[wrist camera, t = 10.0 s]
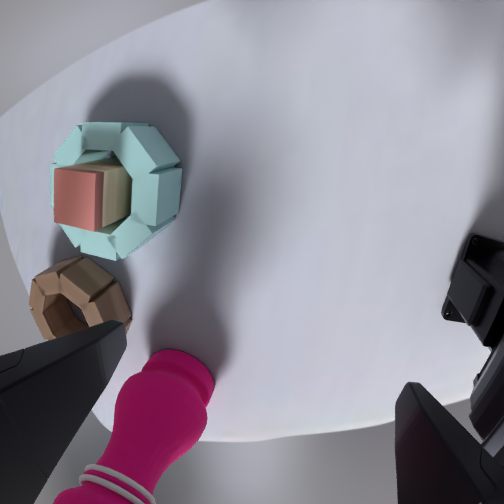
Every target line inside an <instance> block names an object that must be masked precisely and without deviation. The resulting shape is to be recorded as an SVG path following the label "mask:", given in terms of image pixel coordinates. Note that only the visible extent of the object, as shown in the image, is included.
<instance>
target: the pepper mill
mask: <svg viewBox="0 0 504 504" xmlns="http://www.w3.org/2000/svg"><path fill="white" fill-rule="evenodd" d="M213 391H214V381H213V378H212V375H211V373H210V371H209V370H208V369H207V368H206V367H205V366H204V364H203V363H202V362H200V361H199V360H198V359H196V358H195V357H193V356H191V355H189V354H187V353H185V352H181V351H178V350H168V349H167V350H161V351H158V352H156V353H154V354H153V355H152V356H151V357H150V359H149V360H148V361H147V363H146V364H145V366H144V367H143V369H142V371H141V372H139V373H137V374H134V375H133V376H131V377H129V378H128V380H127V381H126V382H125V383H124V385H123V386H122V388H121V390H120V392H119V394H118V397H117V400H116V404H115V412H114V425H113V431H112V435H111V439H110V442H109V444H108V446H107V448H106V450H105V452H104V454H103V455H102V457H101V458H100V460H99V461H98V462H97V463H96V464H92V465H88V466H86V468H85V472H84V474H83V475H81V476H80V477H79V482H80V485H81V486H79V487H76V488H70V489H67V490H64V491H62V492H61V493H60V494H59V495H58V496H57V497H56V499H55V500H54V503H53V504H155V499H154V498H153V496H152V494H153V491H154V488H155V486H156V484H157V482H158V480H159V479H160V477H161V475H162V473H163V472H164V471H165V470H166V469H167V468H168V467H169V465H171V464H172V463H173V462H174V461H176V460H177V459H178V458H179V457H180V456H182V455H183V454H184V453H186V452H187V451H188V450H189V449H190V448H192V446H193V445H194V444H195V443H196V442H197V441H198V440H199V438H200V437H201V435H202V433H203V431H204V429H205V427H206V424H207V412H206V407H207V405H208V403H209V401H210V398H211V396H212V394H213Z"/></svg>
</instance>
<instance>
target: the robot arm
mask: <svg viewBox="0 0 504 504" xmlns="http://www.w3.org/2000/svg"><path fill="white" fill-rule="evenodd" d="M475 238H476V241H475V243H472V241H473V239H475ZM447 295H448V296H447V299H446V302H445V304H444V307H443V309H442V312H441V313H442V316H443V318H444V319H445V320H449V321H456V322H462V323H467V325H468V326H471V328H472V329H473V331H474V332H475V334H476V335H477V337H478V338H479V340H480V341H481V343H482V344H483V346H486V347H488V348H489V350H490V351H491V354H490V355H489V357H488V359H487V361H486V363H485V365H484V366H483V368H482V370H481V371H480V373H478V374H477V376H476V377H475V379H474V381H473V383H474V388H473V391H472V394H471V397H470V400H471V410H472V411H471V413H470V415H469V418H470V420H471V423H472V425H473V427H474V429H475V431H476V432H477V433H478V435H479V436H480V438H481V439H482V440H483V442H482V443H481V444H480V443H479V442H478V441H477V440H476V439H475V438H473V436H472V435H471V434H470V433H469V432H468V431H467V430H466V429H465V428H464V427H463V426H462V425H461V424H460V423H459V422H458V421H457V420H456V419H455V418H454V417H453V416H452V415H451V414H450V413H449V412H448V411H447V410H446V409H445V408H444V407H443V406H442V405H441V404H440V403H439V402H438V401H437V400H436V399H435V398H434V397H433V396H432V395H431V394H430V393H429V392H428V391H427V390H426V389H425V388H424V387H423V386H422V385H421V384H420V383H417V382H408V383H406V385H405V386H404V388H403V390H402V392H401V393H400V395H399V397H398V399H397V401H396V405H395V458H396V473H397V494H398V504H504V242H503V241H500V240H497V239H494V238H490V237H487V236H483V235H480V234H477V233H472V234H470V235H469V236H468V238H467V242H466V245H465V248H464V251H463V254H462V257H461V260H460V261H459V262H458V265H457V268H456V271H455V274H454V277H453V279H452V282H451V285H450V287H449V290H448V293H447ZM448 311H450V313H449V314H446V313H447V312H448ZM126 346H127V339H126V327H125V324H124V323H123V322H121V321H118V320H115V319H112V320H109V321H106V322H103V323H100V324H97V325H94V326H91V327H88V328H85V329H82V330H79V331H76V332H73V333H70V334H67V335H64V336H61V337H58V338H55V339H52V340H49V341H46V342H43V343H40V344H37V345H33V346H30V347H28V348H25V349H21V350H18V351H15V352H12V353H8V354H5V355H1V356H0V504H34V502H35V500H36V499H37V497H38V495H39V494H40V492H41V490H42V489H43V487H44V485H45V483H46V482H47V480H48V479H47V478H49V476H50V475H51V473H52V471H53V470H54V468H55V466H56V465H57V463H58V461H59V460H60V458H61V457H62V455H63V453H64V452H65V450H66V449H67V447H68V445H69V444H70V442H71V441H72V439H73V437H74V436H75V434H76V433H77V431H78V429H79V428H80V426H81V425H82V423H83V422H84V420H85V418H86V417H87V415H88V414H89V412H90V411H91V409H92V408H93V406H94V405H95V403H96V402H97V400H98V398H99V397H100V395H101V394H102V392H103V391H104V389H105V388H106V386H107V384H108V383H109V381H110V379H111V377H112V375H113V373H114V371H115V369H116V367H117V365H118V363H119V361H120V359H121V357H122V355H123V353H124V351H125V349H126Z"/></svg>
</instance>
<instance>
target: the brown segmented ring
mask: <svg viewBox="0 0 504 504" xmlns="http://www.w3.org/2000/svg"><path fill="white" fill-rule="evenodd" d="M113 280H114V276H112V275H111V274H110V273H108V272H107V271H106V270H104V269H103V268H101V267H100V266H99V265H97V264H96V263H95V262H93V261H92V260H91V259H89V258H88V257H86V258H84V259H83V256H79V257H75V258H71V259H67V260H63V261H60V262H58V263H56V264H55V265H53V266H51V267H50V268H48V269H46V270H45V271H43V272H41V273H40V274H38V275H36V276H35V278H34V279H33V280H32V285H31V292H30V300H29V305H30V306H31V307H32V309H31V310H30V311H31V313H32V315H33V317H34V320H35V322H36V324H37V326H38V328H39V330H40V332H41V334H42V336H43V338H44V339H48V341H49V340H52V339H55V338H58V337H61V336H64V335H67V334H70V333H73V332H76V331H79V330H82V329H85V328H88V326H87V325H85V324H84V323H83V322H82V321H80V320H79V319H78V318H76V317H75V315H74V313H73V311H72V309H71V307H70V304H69V302H68V300H67V298H68V299H69V300H70V301H72V302H73V303H74V304H75V305H77V306H78V307H79V308H80V309H81V310H82V312H83V314H84V316H85V319H86V321H87V323H88V325H89V327H91V326H94V325H97V324H100V323H103V322H106V321H109V320H112V319H115V320H118V321H121V322H123V323H124V324H125V327H126V334H127V331H128V329H129V327H130V324H131V322H132V320H131V319H130V317H131V316H132V314H131V312H130V309H129V307H128V305H127V302H126V300H125V297H124V295H123V292H122V290H121V287H120V285H119V282H117V283H113Z"/></svg>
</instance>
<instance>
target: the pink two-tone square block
mask: <svg viewBox="0 0 504 504" xmlns="http://www.w3.org/2000/svg"><path fill="white" fill-rule="evenodd" d="M132 182H133V179H132V177H131V176H130V174H129V173H128V172H127V170H126V169H125V167H124V166H123V165H122V163H121V162H120V160H119V159H115V158H107V159H101V160H96V161H90V162H85V163H80V164H75V165H70V166H65V167H60V168H55V169H54V222H56V223H60V224H64V225H68V226H72V227H76V228H80V229H84V230H89V231H93V232H95V231H97V230H99V229H101V228H103V227H105V226H107V225H109V224H111V223H113V222H115V221H117V220H119V219H121V218H123V217H126V216H128V215H130V214H131V202H132Z"/></svg>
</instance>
